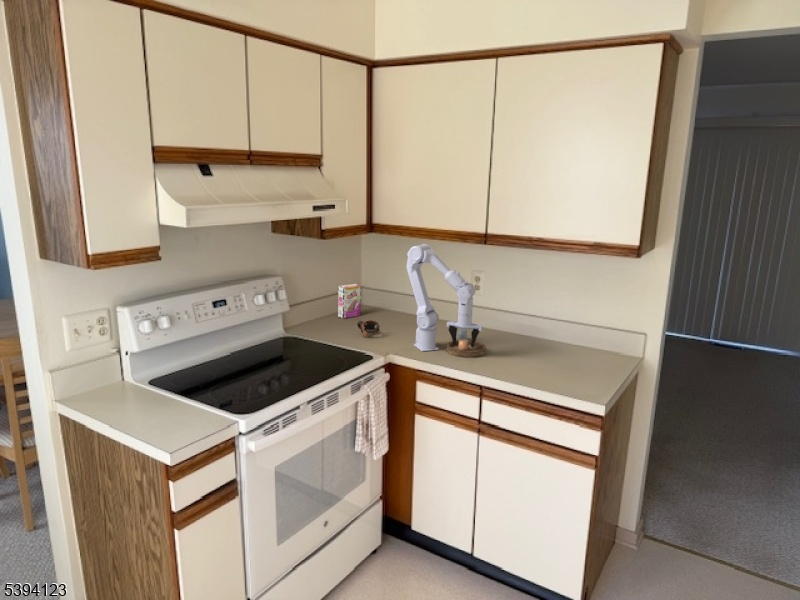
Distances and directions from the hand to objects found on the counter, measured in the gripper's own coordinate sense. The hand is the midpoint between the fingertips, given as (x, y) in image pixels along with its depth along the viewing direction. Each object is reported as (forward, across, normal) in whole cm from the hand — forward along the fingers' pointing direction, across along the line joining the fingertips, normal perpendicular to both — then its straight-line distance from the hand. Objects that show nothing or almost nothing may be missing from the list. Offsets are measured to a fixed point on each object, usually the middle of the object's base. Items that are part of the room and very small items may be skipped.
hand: (463, 345), depth 224 cm
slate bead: (+4, +6, -20) cm, 21 cm away
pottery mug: (+4, +47, -8) cm, 48 cm away
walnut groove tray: (+4, 0, -4) cm, 6 cm away
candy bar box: (+4, +70, -34) cm, 78 cm away
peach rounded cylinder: (+3, 0, 0) cm, 3 cm away
